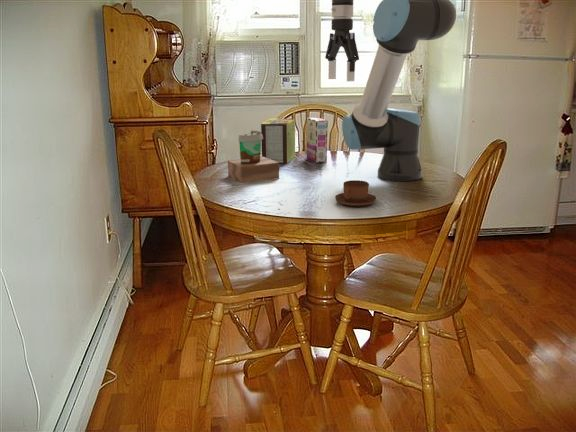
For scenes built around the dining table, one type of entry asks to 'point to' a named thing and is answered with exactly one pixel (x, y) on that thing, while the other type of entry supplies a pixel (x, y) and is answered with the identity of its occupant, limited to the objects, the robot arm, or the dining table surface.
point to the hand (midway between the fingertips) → (341, 80)
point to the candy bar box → (317, 140)
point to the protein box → (278, 139)
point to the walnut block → (253, 170)
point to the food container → (250, 147)
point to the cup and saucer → (355, 194)
